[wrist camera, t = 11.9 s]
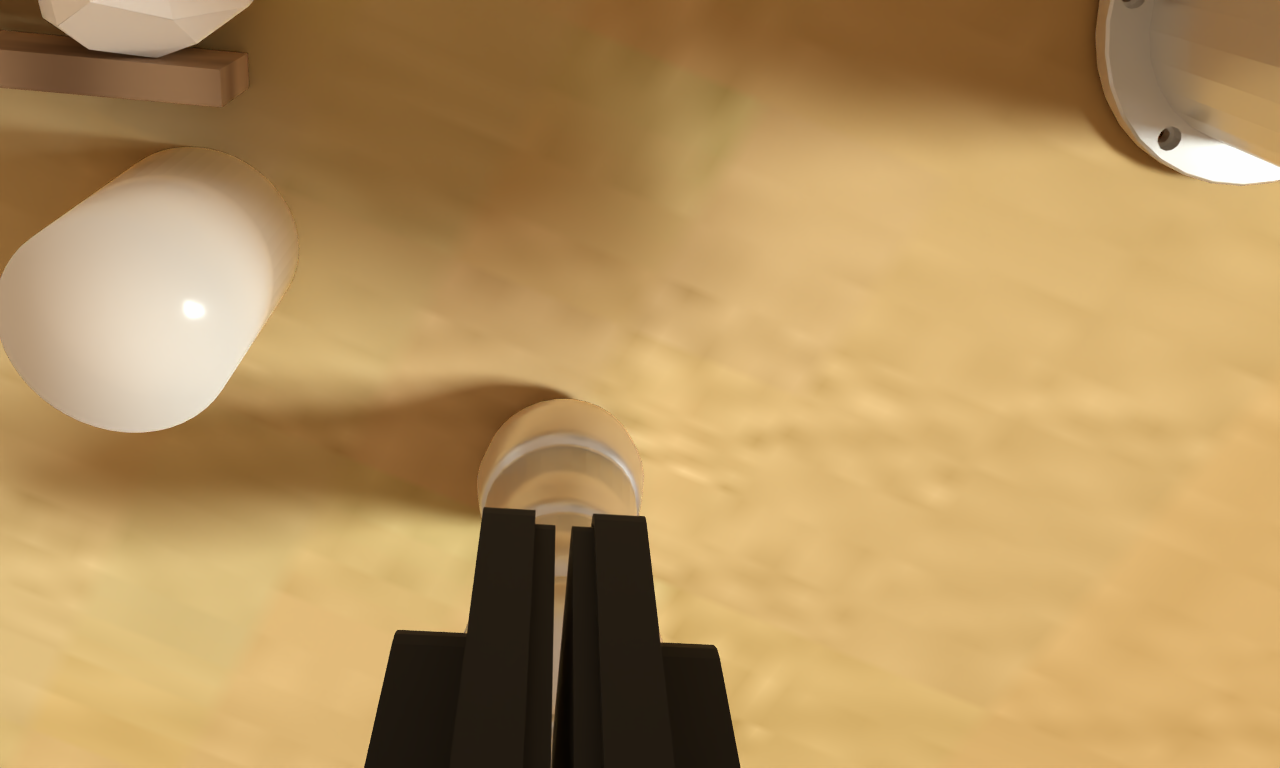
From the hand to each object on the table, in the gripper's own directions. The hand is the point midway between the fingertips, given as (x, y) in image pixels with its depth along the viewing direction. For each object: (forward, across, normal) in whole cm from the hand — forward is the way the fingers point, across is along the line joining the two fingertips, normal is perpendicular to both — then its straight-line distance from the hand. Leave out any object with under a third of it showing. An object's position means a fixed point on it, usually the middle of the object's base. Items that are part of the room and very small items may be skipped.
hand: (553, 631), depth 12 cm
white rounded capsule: (+32, +13, +7) cm, 35 cm away
